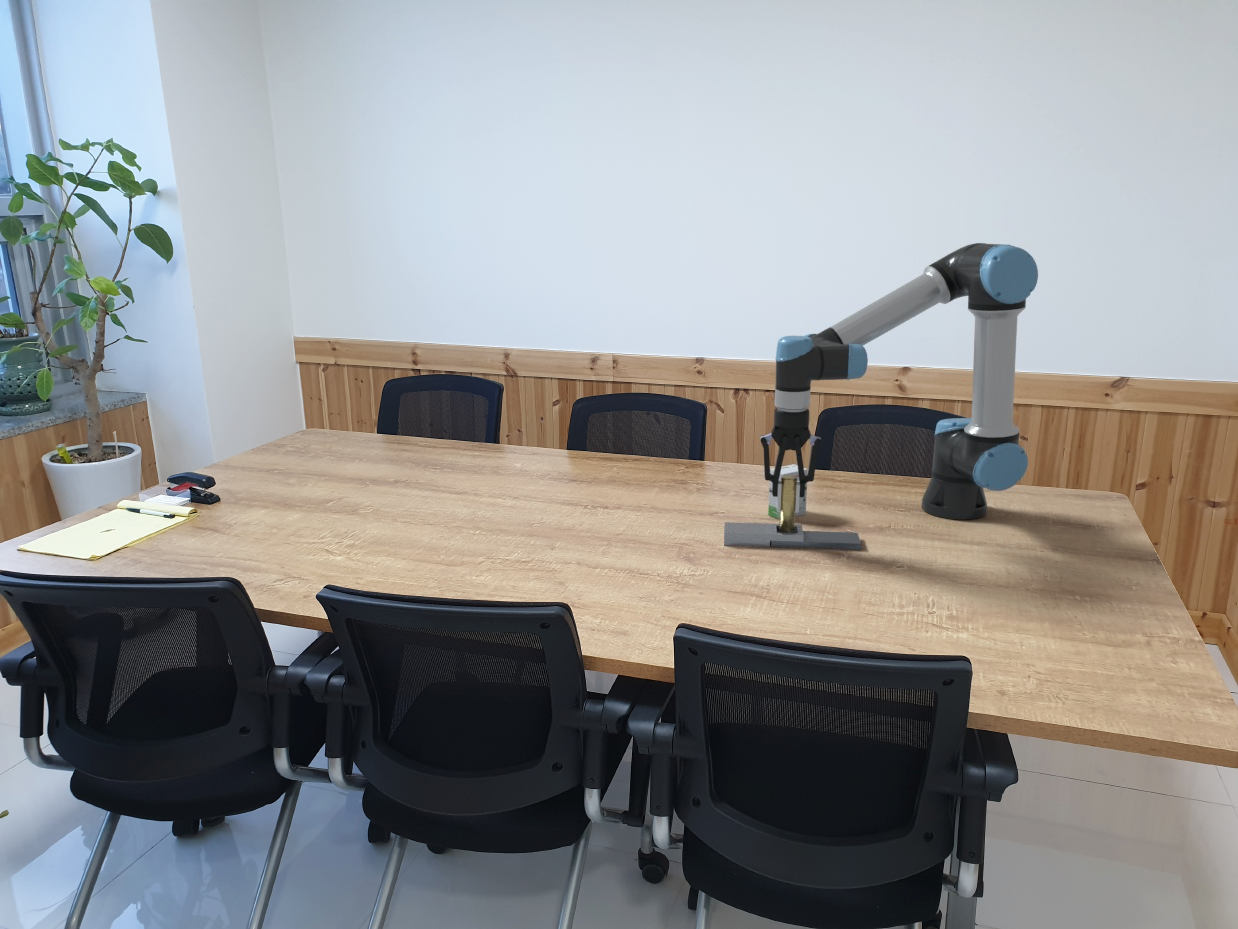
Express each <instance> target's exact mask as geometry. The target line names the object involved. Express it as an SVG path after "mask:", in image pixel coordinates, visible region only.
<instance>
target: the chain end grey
mask: <svg viewBox="0 0 1238 929" xmlns="http://www.w3.org/2000/svg"><path fill="white" fill-rule="evenodd" d="M803 531H804V530H803V526H802V524H798V523H797V524H796V523H795V529H794V530H793V531H782V530H780V529H779V523H766V522H765V523H763V522H762V523H761V522H734V521H733V522H732V521H731V522H729V521H725V522H724V532H723V546H732V547H735V546H736V547H737V546H738V547H759V548H760V547H761V548H763V547H765V548H770V547H771V541H796V542H803V539H804V534H803ZM777 532H796V533H777Z"/></svg>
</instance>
